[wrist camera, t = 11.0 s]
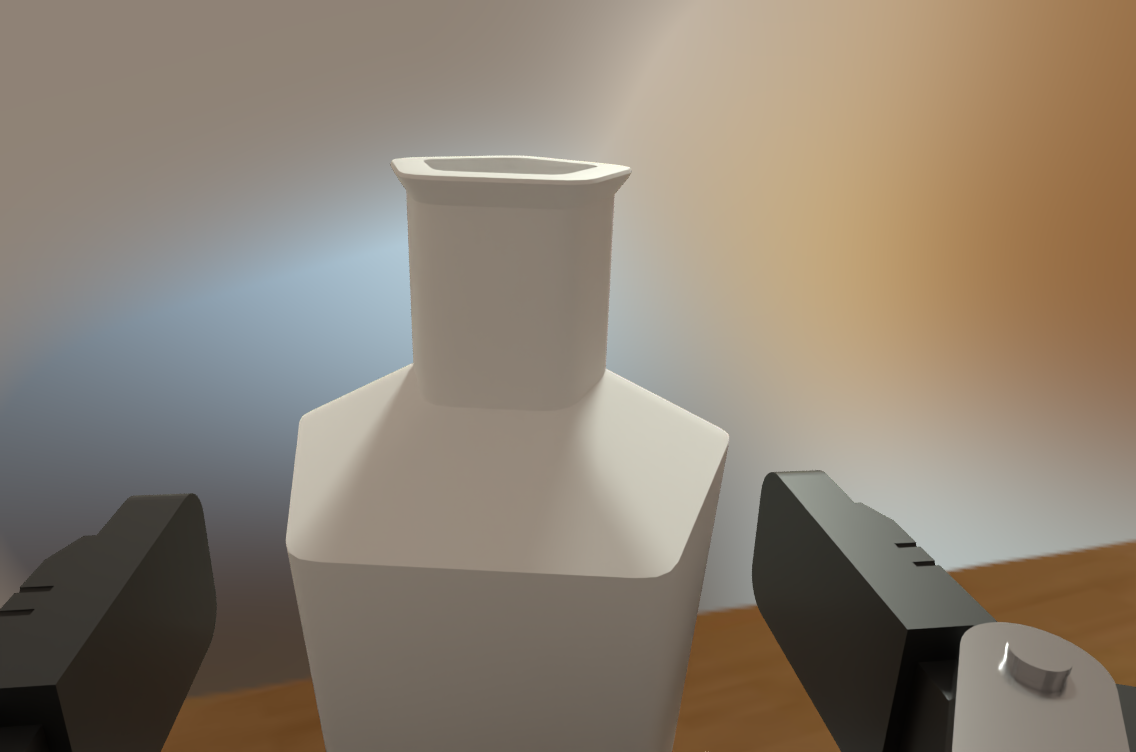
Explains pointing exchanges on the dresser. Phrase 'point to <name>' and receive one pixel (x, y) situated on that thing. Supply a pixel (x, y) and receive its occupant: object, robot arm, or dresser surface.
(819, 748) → the dresser surface
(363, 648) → the perfume bottle
